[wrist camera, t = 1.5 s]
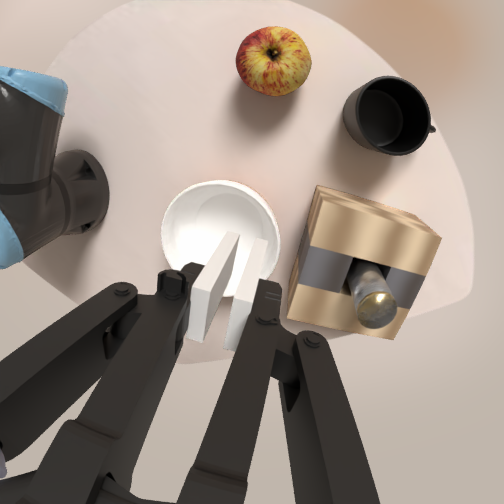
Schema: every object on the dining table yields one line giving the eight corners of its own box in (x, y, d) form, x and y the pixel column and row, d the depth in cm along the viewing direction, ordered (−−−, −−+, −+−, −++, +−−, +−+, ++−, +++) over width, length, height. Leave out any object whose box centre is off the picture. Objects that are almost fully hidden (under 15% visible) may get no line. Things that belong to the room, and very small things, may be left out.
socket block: (289, 281, 48) (286, 318, 39) (316, 184, 41) (323, 201, 32) (379, 303, 47) (393, 340, 38) (414, 214, 40) (441, 238, 31)
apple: (255, 34, 34) (243, 9, 24) (317, 51, 33) (323, 29, 24) (236, 90, 37) (219, 79, 28) (299, 107, 37) (301, 100, 28)
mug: (415, 160, 37) (442, 169, 29) (338, 142, 38) (350, 146, 30) (424, 100, 34) (452, 95, 25) (346, 79, 35) (359, 66, 26)
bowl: (289, 178, 41) (288, 189, 34) (276, 278, 48) (272, 305, 41) (181, 167, 43) (159, 176, 36) (180, 264, 49) (161, 287, 42)
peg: (341, 283, 38) (351, 325, 30) (352, 253, 36) (367, 290, 28) (371, 290, 38) (386, 332, 29) (383, 261, 36) (404, 298, 28)
